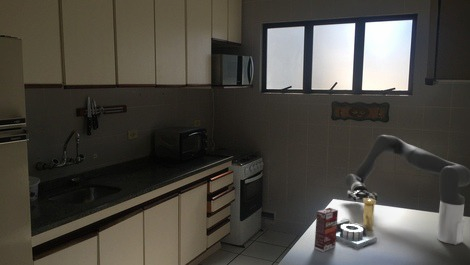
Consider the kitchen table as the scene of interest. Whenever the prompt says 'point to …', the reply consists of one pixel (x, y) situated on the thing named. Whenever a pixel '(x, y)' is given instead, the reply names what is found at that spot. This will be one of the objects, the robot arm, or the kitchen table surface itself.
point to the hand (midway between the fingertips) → (364, 199)
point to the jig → (353, 234)
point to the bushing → (368, 213)
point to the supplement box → (326, 229)
